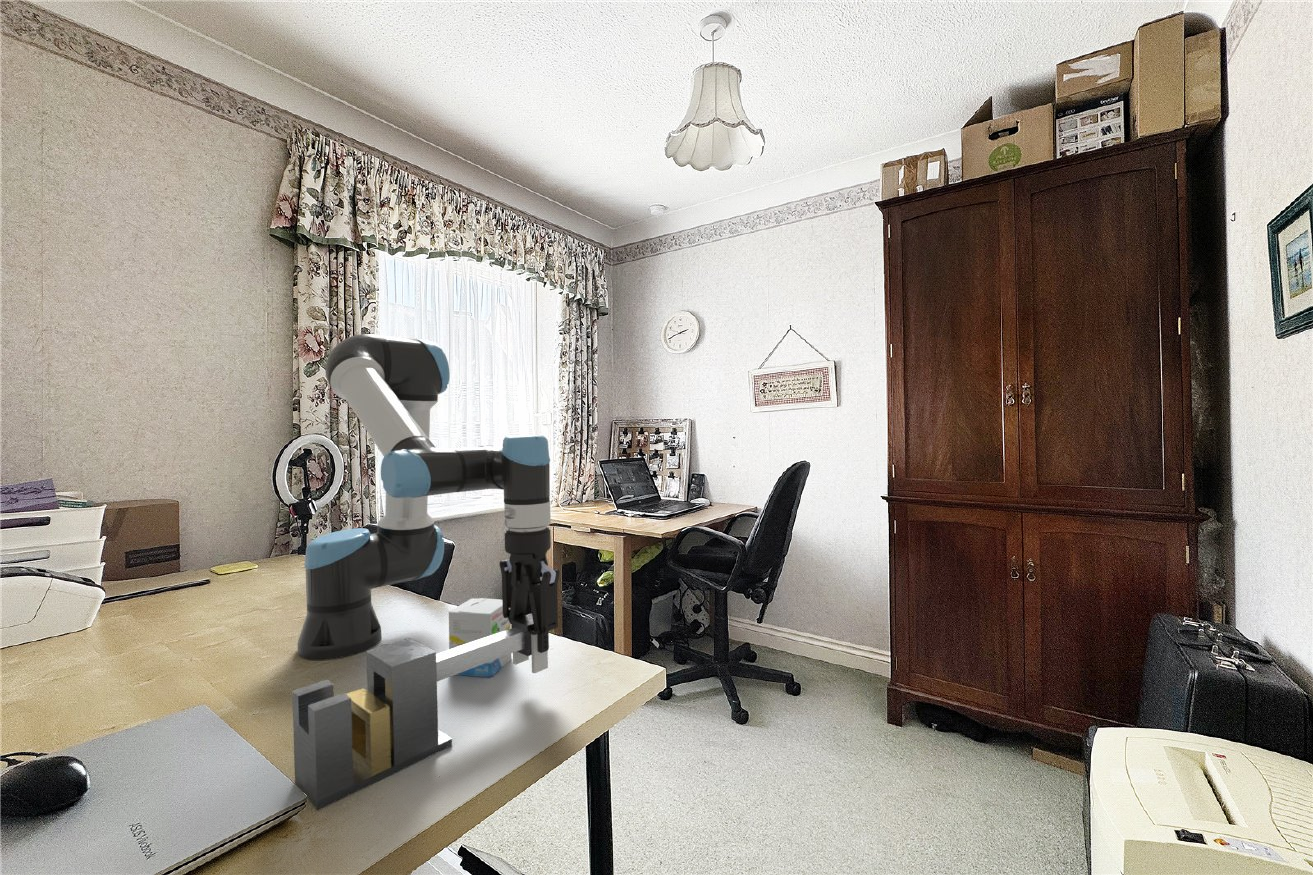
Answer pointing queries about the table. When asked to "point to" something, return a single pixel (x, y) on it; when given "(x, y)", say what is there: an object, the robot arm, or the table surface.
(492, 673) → the ink box
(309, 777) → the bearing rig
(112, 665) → the table surface
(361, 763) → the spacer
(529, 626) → the shaft
